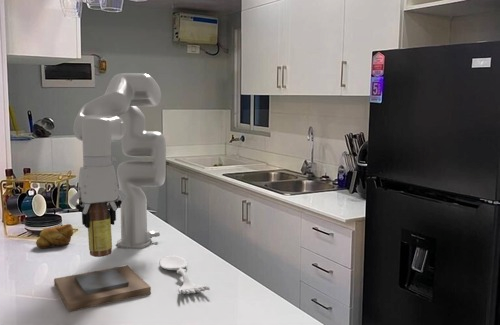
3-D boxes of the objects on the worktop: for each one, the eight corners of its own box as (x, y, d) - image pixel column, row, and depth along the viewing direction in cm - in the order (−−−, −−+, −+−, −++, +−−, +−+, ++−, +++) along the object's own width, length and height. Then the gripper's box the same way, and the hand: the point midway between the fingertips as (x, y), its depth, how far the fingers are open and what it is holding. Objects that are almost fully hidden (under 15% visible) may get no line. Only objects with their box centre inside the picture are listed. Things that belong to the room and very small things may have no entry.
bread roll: (39, 251, 167) (38, 230, 166) (32, 244, 174) (31, 224, 173) (75, 245, 175) (75, 224, 174) (67, 238, 182) (66, 218, 181)
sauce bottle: (116, 252, 135) (115, 184, 133) (103, 259, 129) (101, 188, 127) (97, 249, 137) (96, 182, 135) (83, 256, 131) (81, 186, 129)
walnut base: (127, 271, 149) (127, 262, 149) (150, 293, 133) (150, 283, 132) (54, 285, 137) (53, 275, 137) (69, 311, 121) (68, 300, 120)
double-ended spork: (179, 303, 127) (179, 291, 127) (156, 264, 157) (156, 254, 156) (211, 298, 131) (211, 286, 130) (183, 261, 160) (182, 251, 160)
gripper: (124, 158, 138) (125, 218, 140) (61, 162, 128) (64, 226, 131) (132, 161, 131) (133, 224, 134) (67, 165, 122) (70, 232, 124)
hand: (99, 224), depth 132 cm, fingers closed on sauce bottle, 6 cm apart
